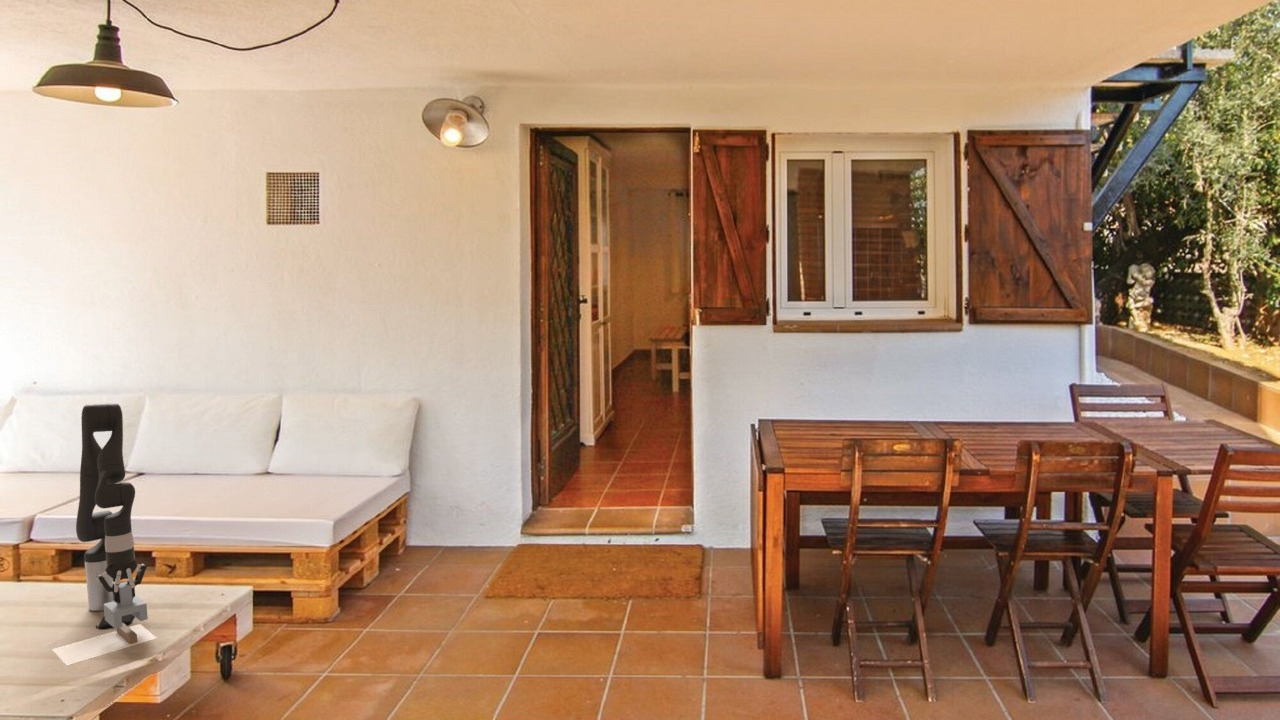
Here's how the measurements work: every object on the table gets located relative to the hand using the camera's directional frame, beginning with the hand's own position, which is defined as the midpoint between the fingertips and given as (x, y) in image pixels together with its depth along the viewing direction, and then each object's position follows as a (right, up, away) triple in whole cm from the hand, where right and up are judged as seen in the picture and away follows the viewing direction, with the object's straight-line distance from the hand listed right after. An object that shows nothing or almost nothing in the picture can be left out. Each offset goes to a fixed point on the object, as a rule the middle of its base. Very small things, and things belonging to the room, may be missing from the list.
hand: (124, 600), depth 260 cm
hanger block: (0, -6, +1) cm, 6 cm away
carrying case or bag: (-12, -13, +15) cm, 23 cm away
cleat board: (-4, -14, -3) cm, 15 cm away
